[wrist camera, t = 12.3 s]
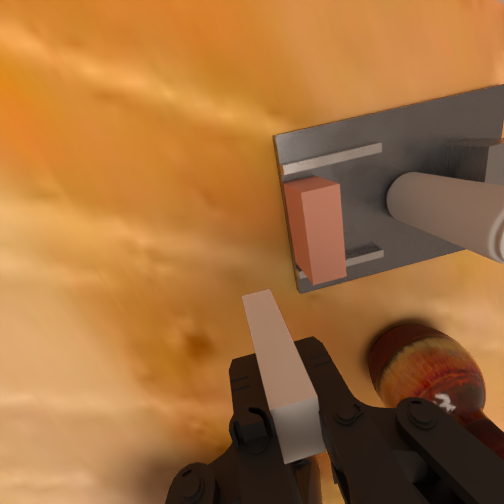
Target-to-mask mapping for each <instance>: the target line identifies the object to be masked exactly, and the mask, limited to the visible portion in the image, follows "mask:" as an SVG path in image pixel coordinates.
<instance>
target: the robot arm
mask: <svg viewBox="0 0 504 504" xmlns="http://www.w3.org/2000/svg"><path fill="white" fill-rule="evenodd" d="M242 300H243V304H244V309H245V313H246V317H247V321H248V325H249V329H250V333H251V337H252V341H253V345H254V349H255V353H254V354H251V355H247V356H243V357H240V358H236V359H233V360H232V363H231V365H230V368H229V376H230V385H231V392H232V402H233V410H234V414H233V416H232V418H231V420H230V424H229V432H230V435H231V438H232V441H233V442H232V444H231V446H230V447H229V448H228V450H227V451H226V452H225V453H224V454H223V455H221V456H220V457H219V458H217V459H216V460H215V461H213V462H212V463H210V464H209V465H206V464H203V463H198V462H197V463H193V464H189V465H188V466H186V467H185V468H183V469H182V470H180V472H179V473H178V474H177V475H176V477H175V478H174V479H173V482H172V484H171V486H170V488H169V492H168V495H167V499H166V502H165V504H322V496H321V481H320V471H319V467H318V464H317V461H316V458H315V455H316V454H319V453H322V452H326V450H325V447H326V449H327V452H328V454H329V457H330V460H331V467H332V474H333V479H334V484H336V483H338V486H339V489H340V491H341V494H342V496H343V499H344V502H345V504H504V460H503V459H502V458H500V457H499V456H498V455H497V454H496V453H494V452H493V451H492V450H491V449H489V448H488V447H487V446H486V445H485V444H483V443H482V442H481V441H480V440H478V439H477V438H476V437H475V436H474V435H472V434H471V433H470V432H469V431H467V430H466V429H465V428H464V427H463V426H461V425H460V424H459V423H458V422H456V421H455V420H454V419H453V418H452V417H450V416H449V415H448V414H447V413H446V412H444V411H443V410H442V409H441V408H439V407H438V406H437V405H435V404H434V403H432V402H430V401H429V400H426V399H423V398H420V397H408V398H405V399H402V400H401V401H400V402H399V403H398V404H397V408H379V407H372V406H369V405H366V404H364V403H362V402H360V401H359V400H357V399H356V398H355V397H354V396H353V395H352V393H351V392H350V390H349V389H348V387H347V385H346V383H345V382H344V380H343V378H342V376H341V375H340V373H339V371H338V369H337V368H336V366H335V364H334V363H333V361H332V359H331V357H330V356H329V355H328V352H327V350H326V349H325V347H324V345H323V343H321V342H320V341H319V340H317V339H316V338H315V337H313V336H312V337H309V338H305V339H301V340H298V341H294V342H293V340H292V338H291V335H290V333H289V331H288V329H287V326H286V324H285V322H284V319H283V317H282V315H281V313H280V310H279V308H278V306H277V304H276V301H275V299H274V297H273V295H272V292H271V290H270V289H266V290H262V291H259V292H255V293H251V294H247V295H243V296H242Z"/></svg>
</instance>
